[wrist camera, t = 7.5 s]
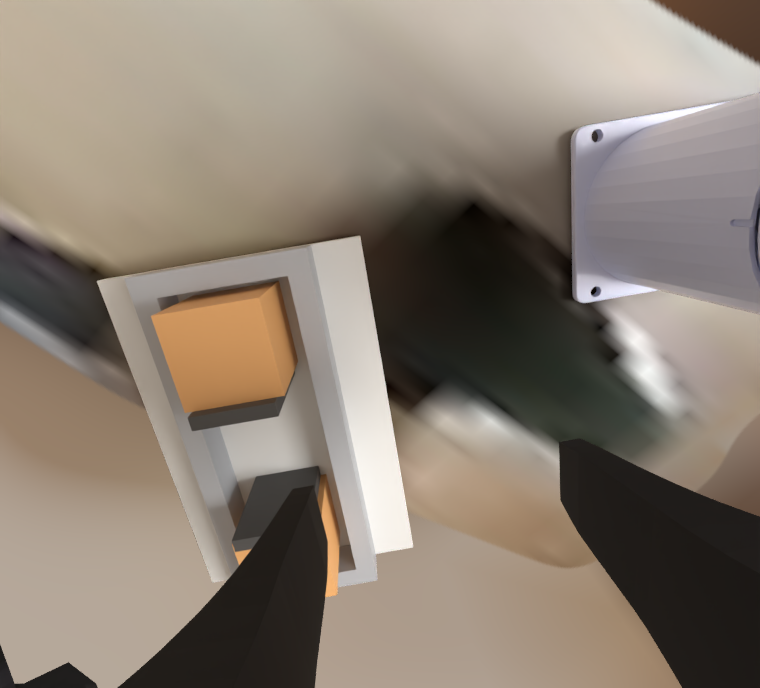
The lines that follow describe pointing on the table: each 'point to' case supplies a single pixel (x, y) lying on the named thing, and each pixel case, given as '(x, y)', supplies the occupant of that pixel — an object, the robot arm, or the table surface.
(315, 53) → the table surface
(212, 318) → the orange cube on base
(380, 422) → the grey frame base
